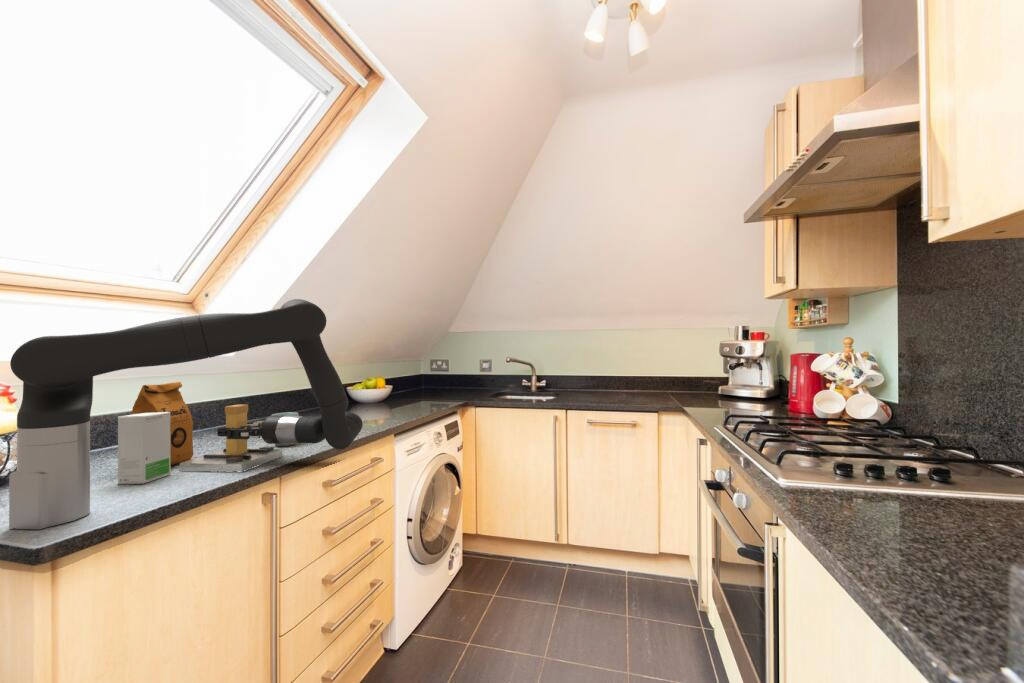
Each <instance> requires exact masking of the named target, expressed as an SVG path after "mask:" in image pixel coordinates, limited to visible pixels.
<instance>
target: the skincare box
mask: <svg viewBox="0 0 1024 683" xmlns="http://www.w3.org/2000/svg"><path fill="white" fill-rule="evenodd" d="M170 413H171V412H157V413H141V414H133V415H132V414H127V415H119V416H117V426H118V427H117V484H118V485H141V484H142V485H143V484H146V483H149V482H152V481H155V480H158V479H162V478H165V477H167V476H170V475H171V472H172V471H171V470H172V469H171V468H172V467H171V466H172V465H170V462H171V461H170Z"/></svg>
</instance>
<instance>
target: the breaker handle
mask: <svg viewBox="0 0 1024 683" xmlns="http://www.w3.org/2000/svg"><path fill="white" fill-rule="evenodd" d="M248 413H249V404H233V405H226V406H224V414H225V428H231V427H240V426H241V425H247V422H248ZM244 429H247V427H245V428H244ZM225 449H226V455H239V454H242V453H245V452H247V449H248V439H227V436H225Z"/></svg>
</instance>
